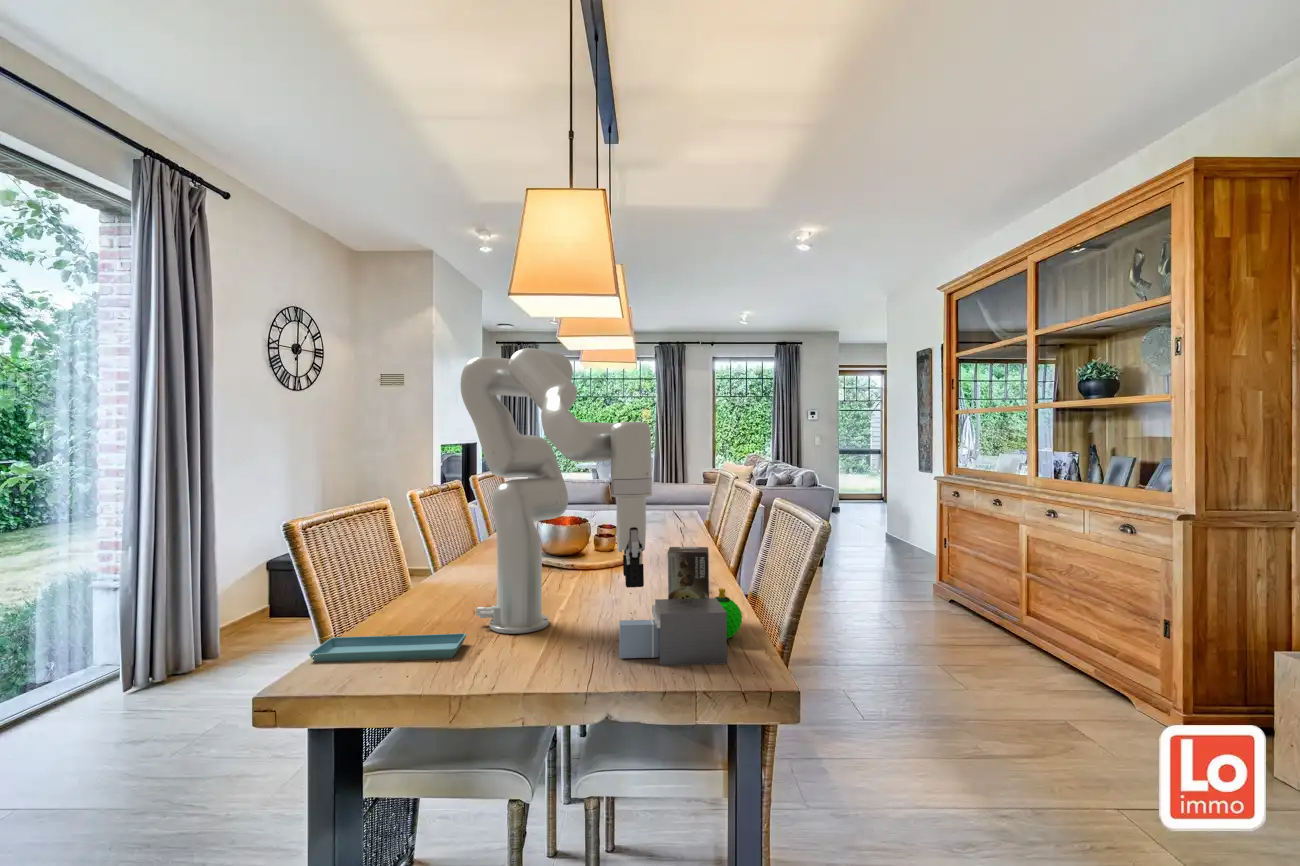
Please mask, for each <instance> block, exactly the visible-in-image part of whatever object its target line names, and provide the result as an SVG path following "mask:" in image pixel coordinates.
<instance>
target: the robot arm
mask: <svg viewBox="0 0 1300 866" xmlns="http://www.w3.org/2000/svg"><path fill="white" fill-rule="evenodd" d="M573 371H574V370H573V365H572V363H571V361H570V360H569V358H568V357H567V356H565V354H563V353H561V352H557V351H553V350H548V349H547V350H546V349H542V348H541V349H539V348H533V347H525V348H522V349H521V348H520V349H519V350H517V351H515V352H514V353H513V354H512V355H511V357H510V358H504V357H498V356H478V357H475V358H472V359H470V360H469V361H468V362H466V364H465V365H464V367H463V369H462V371H461V377H460V383H459V384H460V393H461V398H462V402H463V404H464V406H465V408H466V411H467V412H468V414H469V416H470V418H471V420H472V422H473V424H474V427H475V430H476V431H475V432H476V434H477V438H478V440H479V444H480V447H481V450H482V453H483V456H484V459H485V461H486V465H487V467H488V470H489V472H490V473H491V474H492V475H493V476H495V477H498V478H517V479H511V480H510V479H509V480H506V481H504V482H502V483H501V484H499V485H498V486H497V487H496V488H495V490H494V492H493V494H492V498H491V499H492V501H491V502H492V503H491V504H492V505H491V506H492V511H493V515H494V522H495V531H496V560H497V561H496V604H495V605H491V607H489V606H488V607H487V606H477V607H476V610H475V613H476V616H477V617H479V619H485V618H491V619H490V621H489V624H488V627H489V629H490V630H491V631H493V632H496V633H500V634H507V635H508V634H512V635H513V634H514V635H515V634H516V635H518V634H528V633H533V632H537V631H540V630H543V629H545V628H547V626H548V625H549V624H550V618H549V617H548V615H545V614H543V613H542V611H543V608H542V605H543V603H542V602H543V601H542V597H543V595H542V593H543V591H542V589H543V588H542V587H543V585H542V584H543V583H542V581H543V565H542V564H543V563H542V561H543V557H542V556H543V545H542V539H541V535H540V533H539V531H538V530H537V528H536V526H535V523H534V522H540V521H546V520H554V519H557V518H559V517H561V516H562V515H563V514H564V513H565V512H566V510H567V508H568V505H569V494H568V490H567V485H566V482H565V480H564V478H563V473H562V471H561V468H560V465H559V463H558V460H557V457H556V455H555V452H554V449H553V447H554V448H555V449H556V450H557V451H558V452H559V453H560V454H561V455H563V456H564V457H565V458H566V459H568V460H570V461H572V462H577V463H578V462H579V463H584V462H585V463H586V462H590V463H591V462H610V483H611V484H610V485H611V488H610V490H611V494H610V495H611V498H616V547H617V551H618V552H619V553H623V552H624V553H623V555H622V562H623V563H622V565H623V566H622V567H623V568H622V570H623V571H622V573H623V576H624V577H625V587H626V588H627V589H628V588H643V587H644V586H645V585H644V584H645V582H644V581H645V578H644V577H645V576H644V572H645V571H644V570H645V569H644V563H643V552H644V551H645V550H646V535H647V531H646V530H647V517H646V516H647V511H646V507H647V505H646V503H647V501H646V500H647V499H646V498H647V497H652V495H653V493H652V492H653V489H652V487H653V486H652V483H653V481H652V437H651V435H652V434H651V427H650V425H649V424H648V423H646V422H641V421H620V422H619V421H618V422H616V423H613V422H598V421H597V422H596V421H580V420H579V419H577V418H576V417H575V416H574V414H572V412H571V411H569V410H570V409H571V408H572V407H573V405H574V404H575V402H576V400H577V397H578V390H577V386H576V385H575V384H574V383H573V381H572V378H573V374H574V372H573ZM497 396H507V397H519V398H520V397H522V398H523V397H529V398H530V399H531V400H532V401H533V403H534V404H535V405H536V406H537V407H538V408H539V409H540V410H541V414H540V420H541V425H542V431H543V433H544V435H545V436H546V438H547V439H548V440H549V442H550V443H551V444H552V446H553V447H552V446H551V444H550V443H549V442H548V441H547V440H546V439H545V438H544V437H542V436H538V435H534V434H531V435H530V434H521V433H520V432H519V430H518V428H517V426H516V424H515V421H514V417H513V415H512V413H511V412H510V410H509V409H508V408H507V406H506V405H505V404H504V403H503V402H502V401H501V400H500V399H499V398H498V397H497ZM520 477H521V478H520ZM523 477H527V478H523Z"/></svg>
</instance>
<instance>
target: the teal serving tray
mask: <svg viewBox="0 0 1300 866" xmlns="http://www.w3.org/2000/svg"><path fill="white" fill-rule="evenodd" d="M466 637H467V633H444V634H443V633H442V634H441V633H439V634H437V633H435V634H411V635H410V634H409V635H406V634H405V635H374V636H373V635H371V636H370V635H369V636H368V635H367V636H344V637H343V636H342V637H341V636H340V637H339V636H337V637H330V638H329V639H327V640H326V641H324V642H323V643H322V644H320V645H319V646H318V647H316V648H315V649H313V650H312V651H310V652H309V657H310V658H311V659H312V660H313V661H314V662H345V661H346V662H347V661H349V662H350V661H352V662H353V661H354V662H355V661H392V660H393V661H395V660H401V661H402V660H432V659H433V660H434V659H435V660H437V659H440V660H441V659H452V658H454V656H456V654H457V652H458V650H459V649H461V647H462V646H463V643H464V642H465V640H466ZM316 654H317V655H316ZM313 656H314V657H313ZM312 657H313V658H312Z"/></svg>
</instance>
